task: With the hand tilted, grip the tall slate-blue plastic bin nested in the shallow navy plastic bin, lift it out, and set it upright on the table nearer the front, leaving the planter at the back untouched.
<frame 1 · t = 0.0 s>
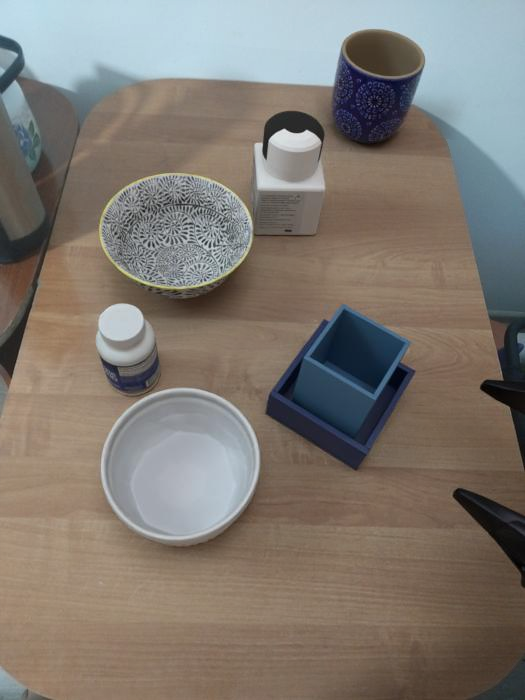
hand: (469, 434, 41), 15 cm above the table, tool horizontal, fingers open, 9 cm apart
container: (282, 214, 71), on the table
pill bottle: (134, 374, 58), on the table
planter: (363, 128, 81), on the table
ramekin: (185, 484, 52), on the table
navy bin: (335, 402, 58), on the table, touching blue bin
blue bin: (336, 399, 57), point 1 cm above the table, touching navy bin
bowl: (181, 272, 65), on the table
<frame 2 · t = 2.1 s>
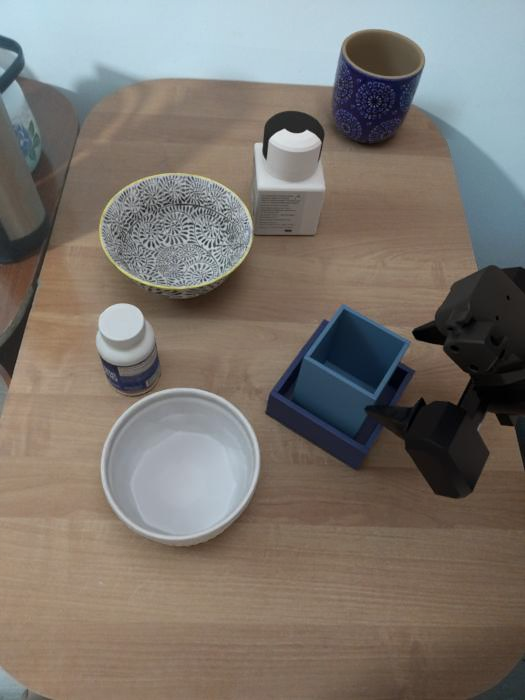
hand: (391, 371, 48), 10 cm above the table, tool tilted 45°, fingers open, 9 cm apart
nothing on the table moved.
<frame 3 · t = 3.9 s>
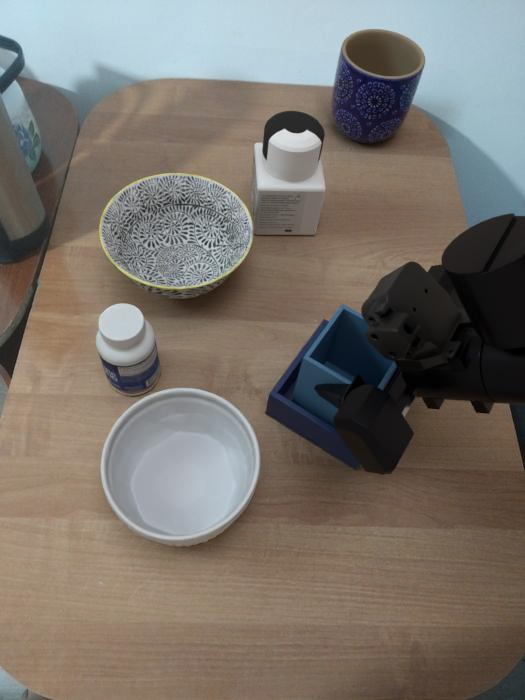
hand: (336, 361, 52), 7 cm above the table, tool tilted 45°, fingers closed on blue bin, 7 cm apart
blue bin: (336, 399, 57), point 1 cm above the table, touching gripper, navy bin
everything else where it was.
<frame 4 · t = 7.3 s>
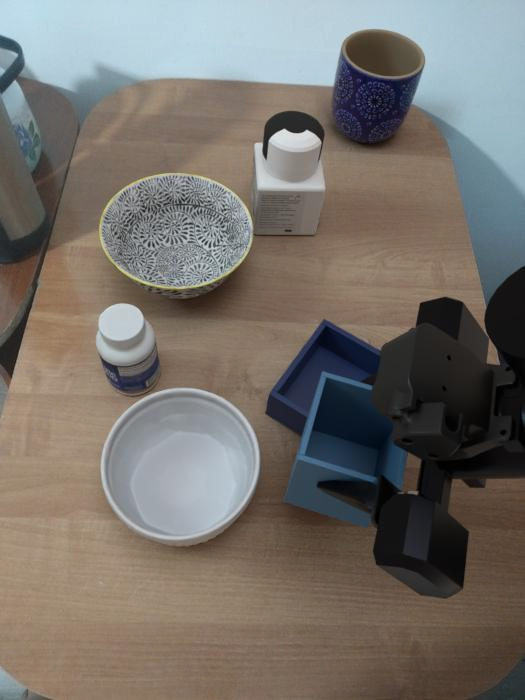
hand: (331, 440, 41), 13 cm above the table, tool tilted 45°, fingers closed on blue bin, 7 cm apart
navy bin: (335, 402, 58), on the table
blue bin: (334, 474, 47), point 6 cm above the table, touching gripper
everything else where it was.
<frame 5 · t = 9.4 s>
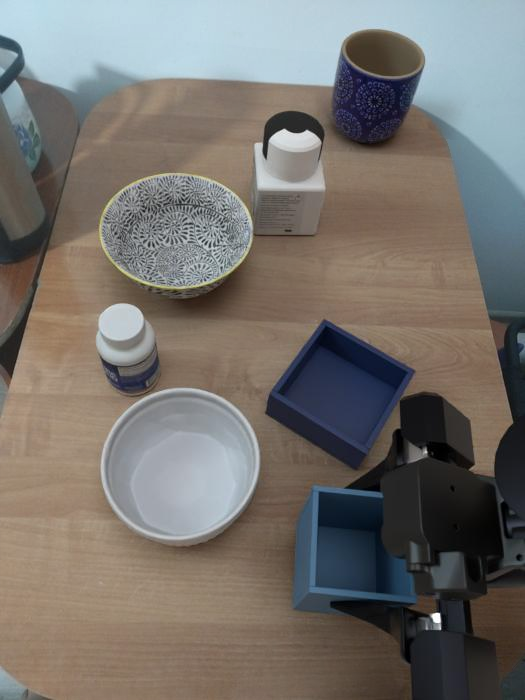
hand: (334, 549, 40), 10 cm above the table, tool tilted 45°, fingers closed on blue bin, 7 cm apart
blue bin: (336, 568, 46), point 3 cm above the table, touching gripper
everything else where it was.
when the fingers open (7 cm above the table, at t = 11.0 s): blue bin stays where it is, on the table.
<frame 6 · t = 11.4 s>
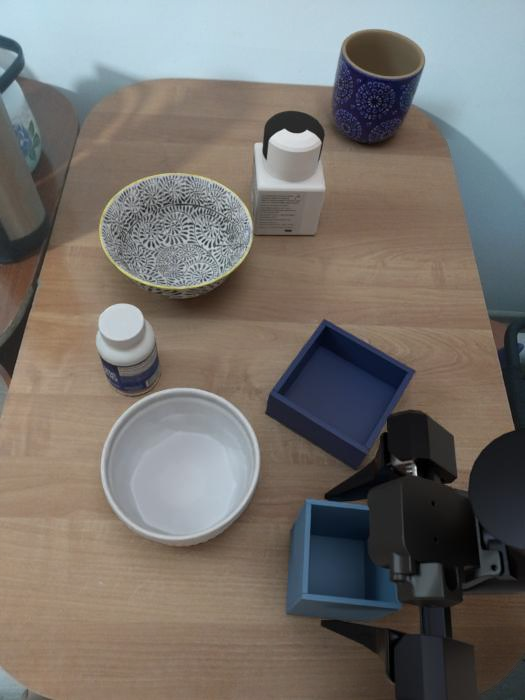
hand: (325, 557, 43), 7 cm above the table, tool tilted 45°, fingers open, 9 cm apart
blue bin: (327, 574, 49), on the table
everything else where it was.
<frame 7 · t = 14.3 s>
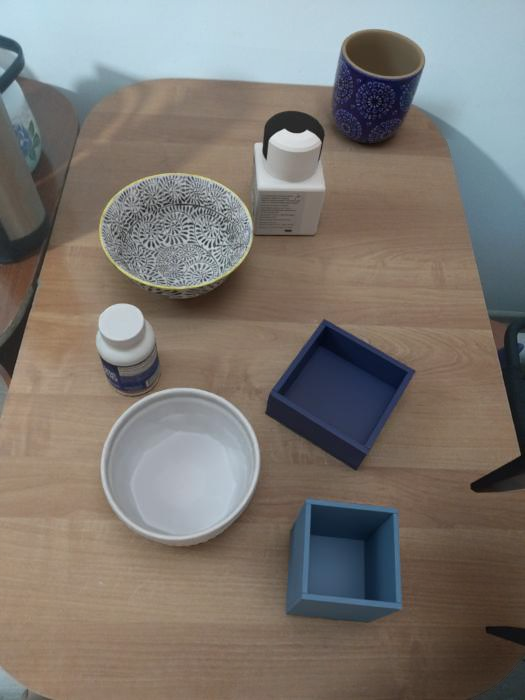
hand: (479, 555, 38), 13 cm above the table, tool tilted 45°, fingers open, 9 cm apart
nothing on the table moved.
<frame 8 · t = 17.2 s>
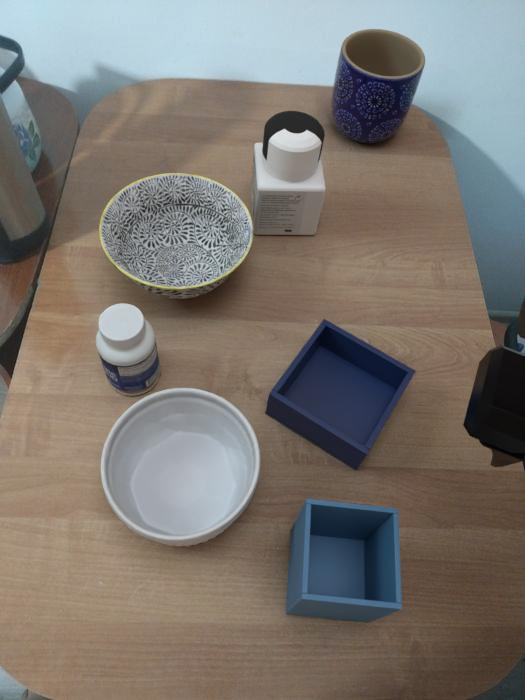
nothing on the table moved.
at the end: blue bin inside the target area (0.0 cm from its centre), on the table; blue bin tilted 0°; planter moved 0.2 cm from its start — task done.
